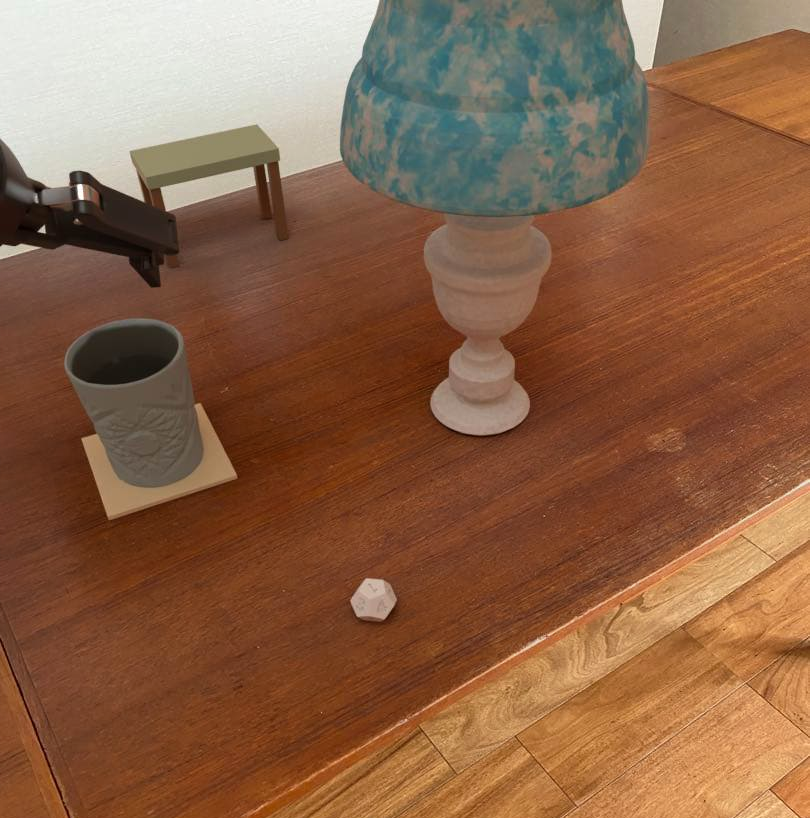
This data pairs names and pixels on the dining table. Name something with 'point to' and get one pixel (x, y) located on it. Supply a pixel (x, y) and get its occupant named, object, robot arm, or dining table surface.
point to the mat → (133, 498)
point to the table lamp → (493, 157)
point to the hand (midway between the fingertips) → (64, 276)
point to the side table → (213, 168)
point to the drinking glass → (139, 399)
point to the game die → (373, 600)
